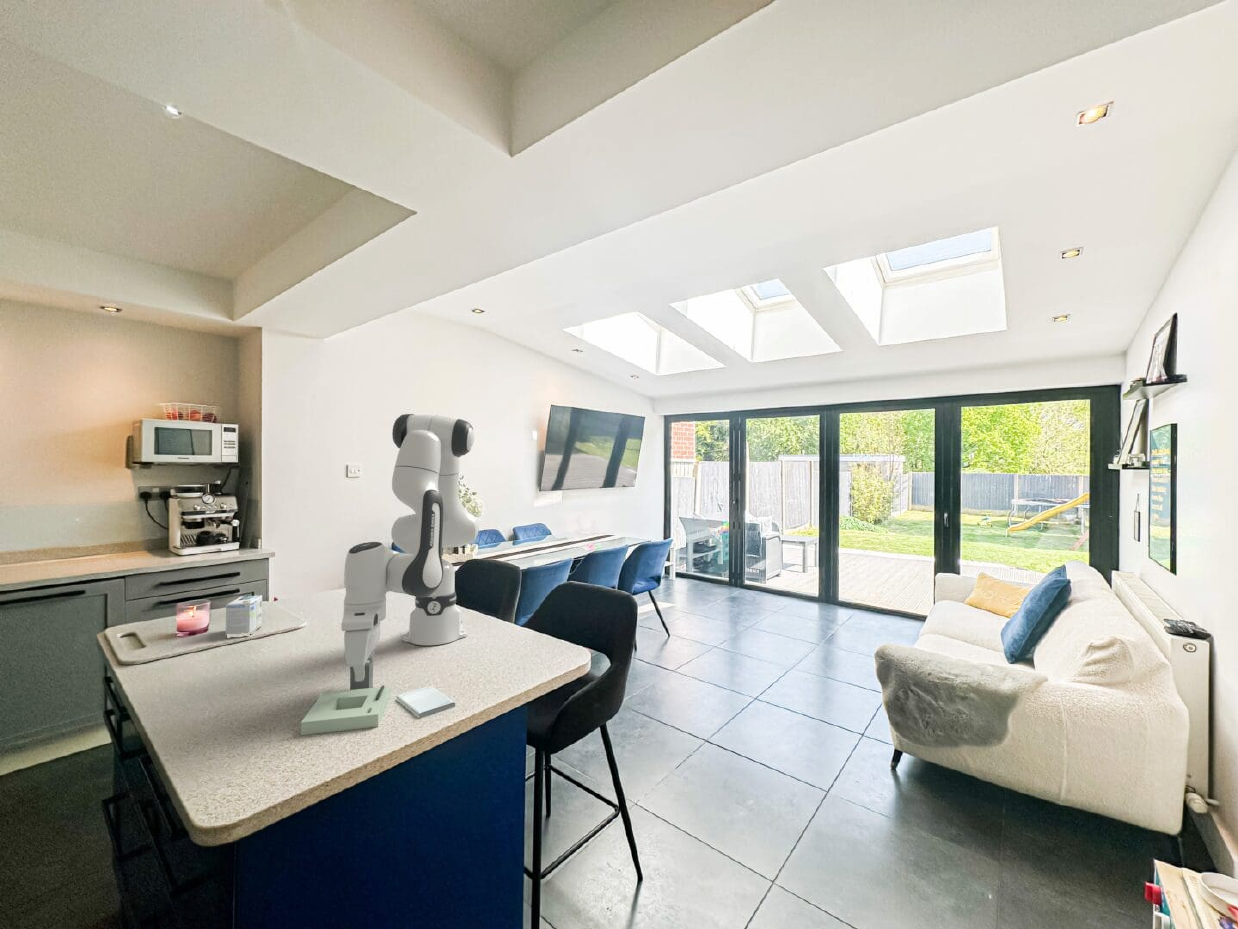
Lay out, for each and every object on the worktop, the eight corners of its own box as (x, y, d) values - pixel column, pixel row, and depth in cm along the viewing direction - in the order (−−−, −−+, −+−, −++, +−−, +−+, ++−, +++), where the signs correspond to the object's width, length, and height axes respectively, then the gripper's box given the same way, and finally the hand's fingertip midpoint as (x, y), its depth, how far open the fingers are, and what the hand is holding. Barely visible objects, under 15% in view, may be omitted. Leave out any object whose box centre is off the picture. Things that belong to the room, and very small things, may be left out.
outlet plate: (322, 703, 114) (323, 689, 114) (390, 697, 117) (390, 683, 117) (300, 735, 100) (301, 718, 100) (378, 726, 104) (378, 710, 104)
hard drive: (455, 701, 113) (431, 684, 122) (419, 713, 107) (396, 694, 116) (455, 709, 113) (431, 691, 122) (418, 721, 107) (396, 702, 116)
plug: (354, 690, 121) (354, 659, 121) (372, 688, 122) (373, 658, 122) (349, 697, 117) (350, 665, 117) (368, 696, 118) (369, 664, 118)
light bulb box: (238, 629, 168) (239, 596, 168) (262, 627, 170) (263, 594, 170) (224, 639, 158) (225, 604, 158) (250, 637, 160) (250, 602, 160)
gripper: (359, 603, 128) (359, 659, 128) (339, 625, 109) (338, 691, 108) (386, 602, 130) (386, 656, 130) (371, 623, 110) (370, 687, 110)
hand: (364, 672), depth 119 cm, fingers open, 8 cm apart
